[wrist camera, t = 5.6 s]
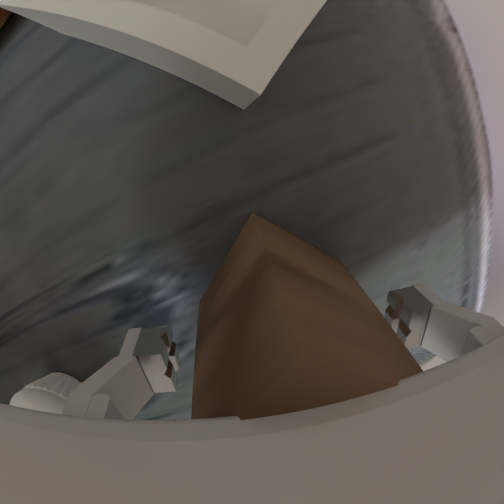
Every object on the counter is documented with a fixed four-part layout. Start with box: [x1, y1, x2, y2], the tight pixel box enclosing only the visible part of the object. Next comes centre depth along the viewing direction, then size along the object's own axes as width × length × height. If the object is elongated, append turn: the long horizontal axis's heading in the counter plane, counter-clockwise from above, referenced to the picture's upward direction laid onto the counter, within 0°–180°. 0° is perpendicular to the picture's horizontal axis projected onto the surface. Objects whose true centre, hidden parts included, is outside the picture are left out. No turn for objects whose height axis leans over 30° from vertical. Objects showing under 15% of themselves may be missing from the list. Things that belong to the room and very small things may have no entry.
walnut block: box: [191, 213, 423, 420], centre depth 9 cm, size 5×5×8 cm
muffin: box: [9, 372, 82, 414], centre depth 12 cm, size 6×6×7 cm
